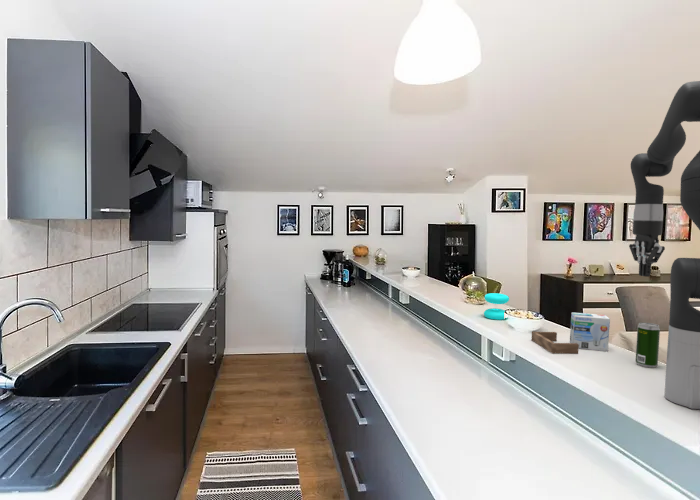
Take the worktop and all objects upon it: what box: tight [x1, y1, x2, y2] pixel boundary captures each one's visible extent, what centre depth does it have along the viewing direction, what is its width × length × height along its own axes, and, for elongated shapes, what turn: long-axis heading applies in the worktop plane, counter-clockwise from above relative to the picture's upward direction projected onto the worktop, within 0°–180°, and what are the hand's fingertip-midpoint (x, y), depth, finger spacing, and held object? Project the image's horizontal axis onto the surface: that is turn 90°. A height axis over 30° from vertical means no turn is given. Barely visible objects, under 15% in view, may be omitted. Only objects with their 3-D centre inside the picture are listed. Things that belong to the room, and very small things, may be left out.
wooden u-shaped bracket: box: [530, 331, 580, 355], centre depth 146 cm, size 15×8×3 cm, turn 1°
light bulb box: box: [569, 312, 611, 352], centre depth 146 cm, size 11×7×11 cm, turn 73°
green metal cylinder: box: [635, 322, 661, 369], centre depth 128 cm, size 5×5×12 cm
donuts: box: [483, 292, 510, 321], centre depth 189 cm, size 10×10×10 cm
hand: (644, 275), depth 136 cm, fingers closed
